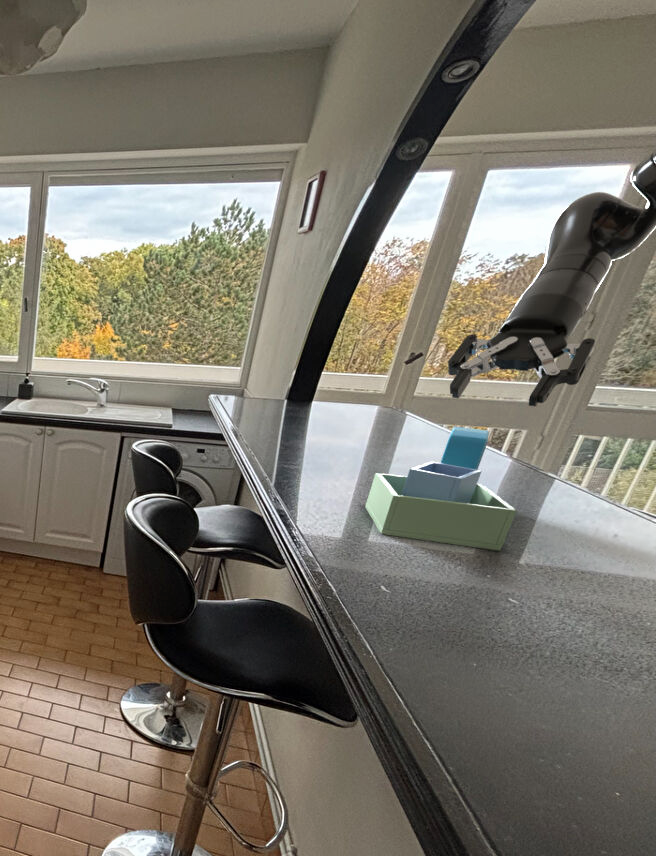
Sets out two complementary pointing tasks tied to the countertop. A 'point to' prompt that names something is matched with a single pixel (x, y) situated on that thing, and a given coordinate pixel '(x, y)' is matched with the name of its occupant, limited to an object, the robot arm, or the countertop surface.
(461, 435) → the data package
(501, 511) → the green tote
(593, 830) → the countertop surface
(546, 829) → the countertop surface
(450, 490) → the small bin
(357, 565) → the countertop surface
